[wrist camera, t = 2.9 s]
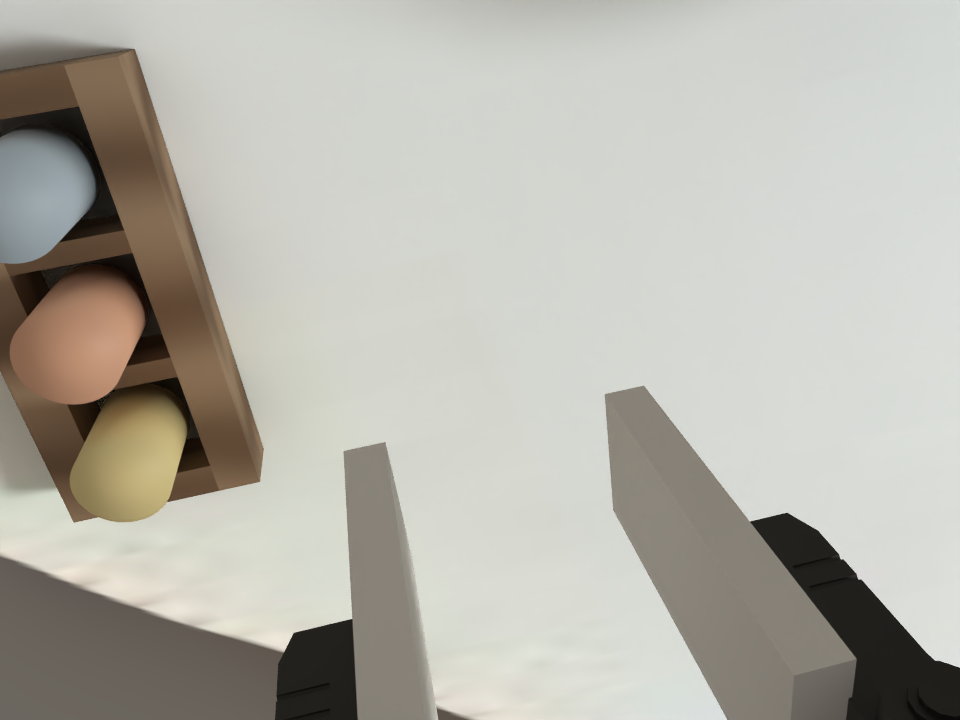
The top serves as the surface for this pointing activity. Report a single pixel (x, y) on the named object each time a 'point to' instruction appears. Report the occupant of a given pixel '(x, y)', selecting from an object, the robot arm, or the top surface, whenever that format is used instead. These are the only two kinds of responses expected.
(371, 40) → the top surface
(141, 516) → the button ochre
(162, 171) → the button board
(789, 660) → the robot arm
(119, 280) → the button terracotta
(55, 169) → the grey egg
